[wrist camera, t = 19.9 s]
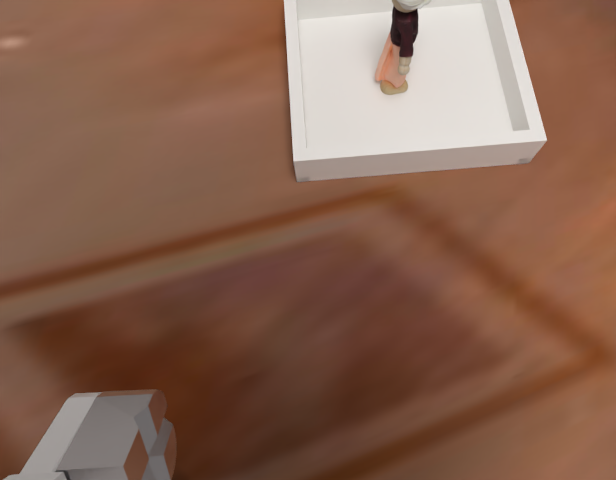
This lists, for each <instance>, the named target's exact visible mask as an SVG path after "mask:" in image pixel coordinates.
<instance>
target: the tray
mask: <svg viewBox="0 0 616 480" xmlns="http://www.w3.org/2000/svg"><path fill="white" fill-rule="evenodd" d="M393 6H394V5H393V3H392V0H284V9H285V26H286V43H287V60H288V77H289V94H290V111H291V128H292V145H293V162H294V167H295V173H296V179H297V182H304V181H316V180H328V179H340V178H353V177H365V176H377V175H389V174H402V173H414V172H426V171H438V170H450V169H463V168H475V167H487V166H499V165H512V164H524V163H529V162H530V161H531V160H532V159H533V157H534V156H535V155H536V154H537V152H538V151H539V150H540V149H541V147H542V146H543V145H544V144H545V142H546V141H547V138H546V135H545V131H544V127H543V124H542V120H541V116H540V113H539V109H538V105H537V102H536V98H535V94H534V91H533V87H532V83H531V80H530V76H529V72H528V69H527V65H526V61H525V58H524V54H523V50H522V47H521V43H520V39H519V36H518V32H517V28H516V25H515V21H514V17H513V14H512V10H511V6H510V3H509V0H432V1H431V2H430V3H429V4H427V5H424V6H423V7H422V8H421V9H419V8H418V35H417V37H416V40H415V42H414V43H413V49H414V51H413V56H412V58H411V63H410V64H409V67H410V70H409V72H408V74H406V78H405V80H406V81H407V83H408V89H407V91H405V92H404V93H399V94H393V95H387V94H384V93H383V92H382V91H381V89H380V83H381V81H382V80H381V81H376V79H375V72H376V68H377V65H378V62H379V59H380V57H381V54H382V51H383V48H384V46H385V43H386V41H387V38H388V35H389V33H390V30H391V25H392V10H393Z"/></svg>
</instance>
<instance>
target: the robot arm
mask: <svg viewBox="0 0 616 480" xmlns="http://www.w3.org/2000/svg"><path fill="white" fill-rule="evenodd" d="M167 407H168V405H167V402H166V399H165V396H164V393H163V391H160V390H158V389H153V390H130V391H106V392H98V393H75V394H74V395H72V396H71V397H69V398H68V399H67V400H66V401H65V403H64V405H63V406H62V408H61V409H60V411H59V412H58V414H57V416H56V417H55V419H54V420H53V422H52V423H51V425H50V427H49V428H48V430H47V431H46V433H45V434H44V436H43V438H42V439H41V441H40V442H39V444H38V445H37V447H36V449H35V450H34V452H33V453H32V455H31V457H30V458H29V460H28V461H27V463H26V464H25V466H24V468H23V469H22V471H21V472H20V474H16V475H9V476H8V477H6V478H5V479H4V480H172V476H173V472H174V469H175V463H176V453H177V443H176V434H175V430H174V426H173V424H172V423H170V422H169V421H168V420H166V419H165V418H164V415H165V412H166V409H167Z"/></svg>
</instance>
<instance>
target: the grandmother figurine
mask: <svg viewBox="0 0 616 480" xmlns="http://www.w3.org/2000/svg"><path fill="white" fill-rule="evenodd" d="M431 1H432V0H392V3H393V5H394V6H393V10H392V25H391V30H390V33H389V35H388V38H387V41H386V43H385V46H384V48H383V51H382V54H381V57H380V59H379V62H378V65H377V68H376V72H375V79H376V81H381V80H382V81H381V83H380V89H381V91H382V92H383V93H384V94H387V95H393V94H399V93H404V92H405V91H407V89H408V83H407V81H406V80H405V78H406V74H408V72H409V70H410V67H409V64H410V63H411V58H412V56H413V51H414V49H413V43H414V42H415V40H416V37H417V35H418V8H419V9H421V8H422V7H423V6H424V5H427V4H429V3H430V2H431Z"/></svg>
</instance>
